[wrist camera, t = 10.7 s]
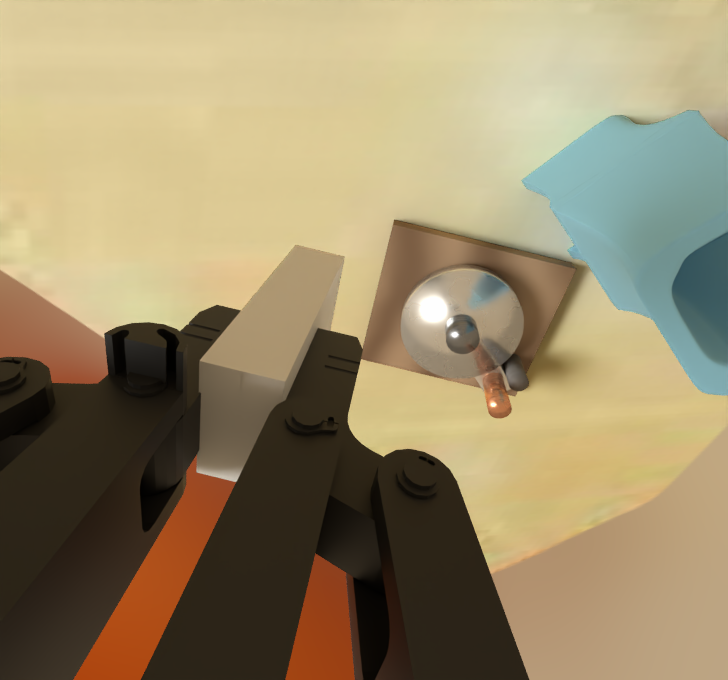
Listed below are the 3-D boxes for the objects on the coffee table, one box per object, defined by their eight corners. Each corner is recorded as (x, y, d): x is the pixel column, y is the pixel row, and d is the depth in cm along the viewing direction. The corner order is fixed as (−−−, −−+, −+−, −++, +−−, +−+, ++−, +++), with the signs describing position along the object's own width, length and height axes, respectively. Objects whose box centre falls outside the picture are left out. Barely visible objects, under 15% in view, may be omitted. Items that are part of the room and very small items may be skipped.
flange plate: (379, 301, 38) (373, 331, 33) (487, 241, 35) (497, 265, 30) (449, 404, 43) (452, 443, 38) (551, 361, 39) (569, 398, 34)
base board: (362, 350, 43) (355, 379, 39) (394, 219, 37) (390, 237, 32) (512, 387, 43) (522, 420, 39) (571, 262, 37) (590, 285, 32)
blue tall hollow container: (671, 196, 33) (938, 309, 16) (572, 258, 37) (707, 409, 19) (622, 105, 31) (874, 123, 14) (521, 180, 34) (621, 272, 17)
